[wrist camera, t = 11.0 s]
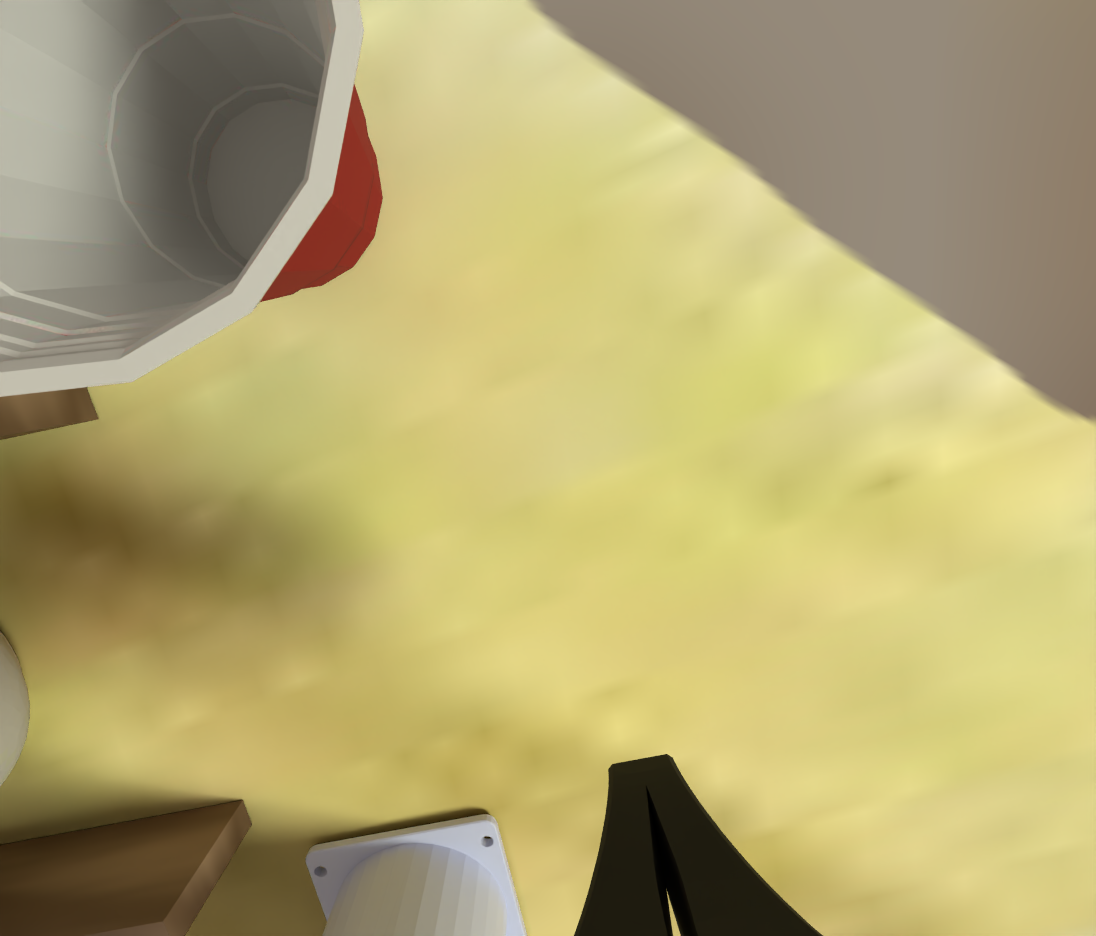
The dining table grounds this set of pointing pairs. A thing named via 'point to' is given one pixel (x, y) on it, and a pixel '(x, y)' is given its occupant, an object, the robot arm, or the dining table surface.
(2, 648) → the teacup
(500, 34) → the dining table surface
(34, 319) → the plastic cup
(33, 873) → the cubby
